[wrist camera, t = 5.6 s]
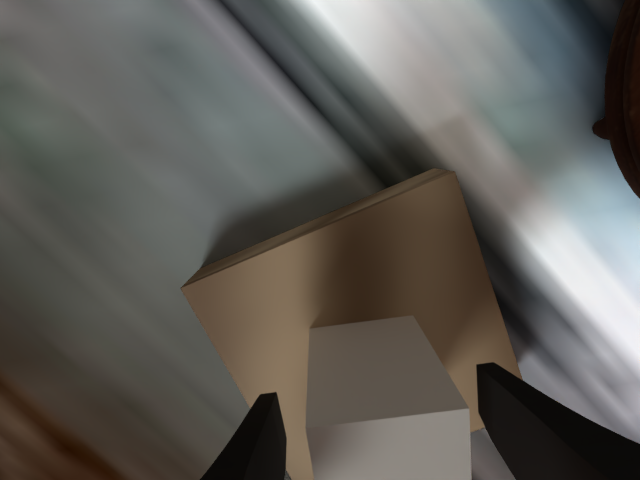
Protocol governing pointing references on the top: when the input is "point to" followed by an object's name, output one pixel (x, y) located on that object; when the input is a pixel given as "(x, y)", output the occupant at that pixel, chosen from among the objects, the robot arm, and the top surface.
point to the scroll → (624, 95)
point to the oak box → (354, 295)
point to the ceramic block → (383, 405)
